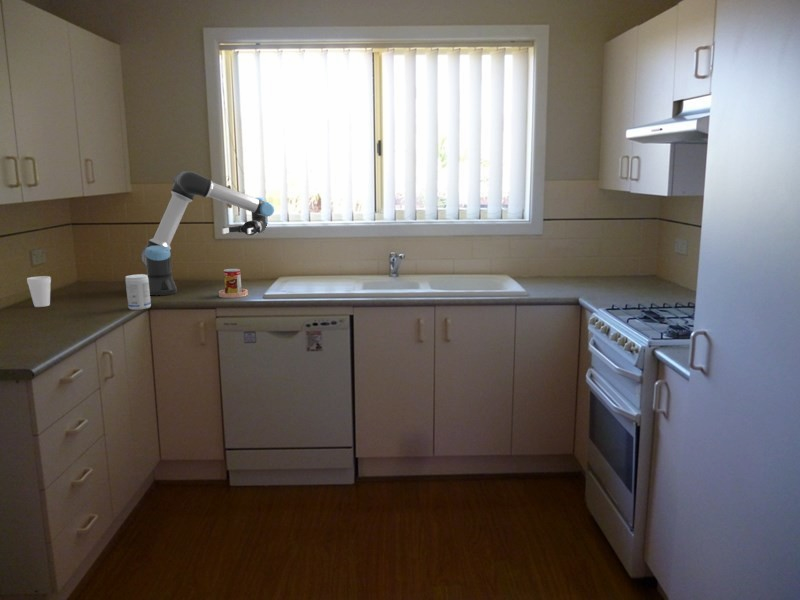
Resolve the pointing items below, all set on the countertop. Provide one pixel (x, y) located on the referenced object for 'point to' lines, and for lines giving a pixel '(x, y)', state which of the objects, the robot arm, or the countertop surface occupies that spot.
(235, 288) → the canned food
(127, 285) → the supplement tub
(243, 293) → the terracotta dish
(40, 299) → the foam cup
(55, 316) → the countertop surface
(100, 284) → the countertop surface
